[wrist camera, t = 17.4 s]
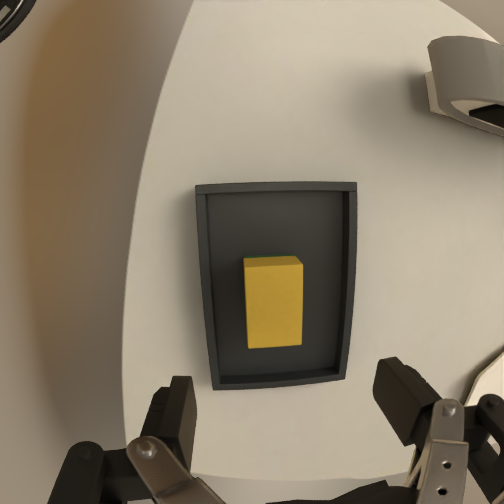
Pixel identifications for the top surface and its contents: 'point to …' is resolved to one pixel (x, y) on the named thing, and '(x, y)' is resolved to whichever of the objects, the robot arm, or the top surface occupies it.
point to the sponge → (273, 300)
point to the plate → (488, 382)
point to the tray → (275, 243)
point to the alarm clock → (467, 81)
